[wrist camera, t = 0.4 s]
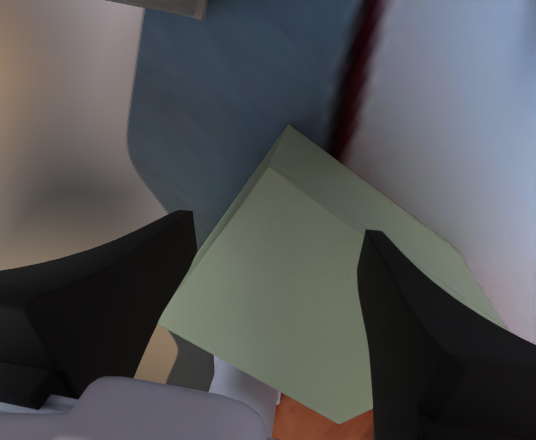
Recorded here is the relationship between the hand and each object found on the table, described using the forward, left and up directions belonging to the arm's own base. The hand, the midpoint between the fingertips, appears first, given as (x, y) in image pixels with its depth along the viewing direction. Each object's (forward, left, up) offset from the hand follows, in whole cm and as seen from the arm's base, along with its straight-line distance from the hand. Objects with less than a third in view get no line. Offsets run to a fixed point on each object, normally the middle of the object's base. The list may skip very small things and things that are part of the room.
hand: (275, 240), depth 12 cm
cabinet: (-7, -3, -10) cm, 13 cm away
